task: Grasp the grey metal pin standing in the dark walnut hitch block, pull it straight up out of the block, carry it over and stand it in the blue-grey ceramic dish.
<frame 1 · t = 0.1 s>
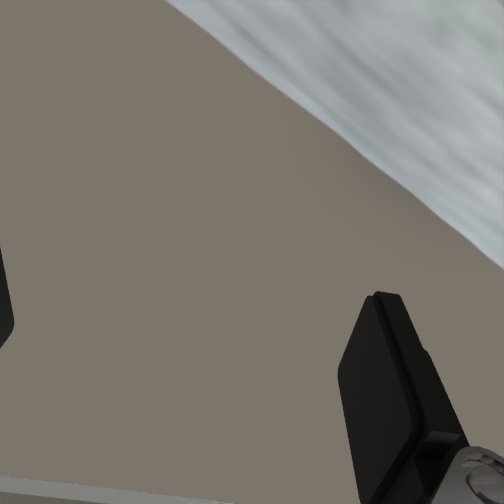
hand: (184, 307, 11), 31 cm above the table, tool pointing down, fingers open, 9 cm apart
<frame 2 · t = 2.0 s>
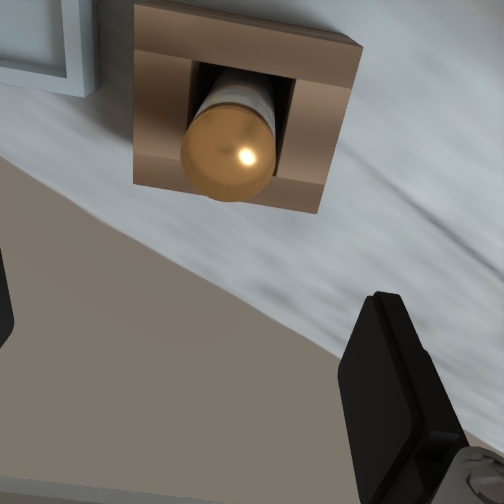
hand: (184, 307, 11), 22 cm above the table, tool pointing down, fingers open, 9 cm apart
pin: (236, 122, 24), in the hitch block
hitch block: (242, 98, 29), on the table
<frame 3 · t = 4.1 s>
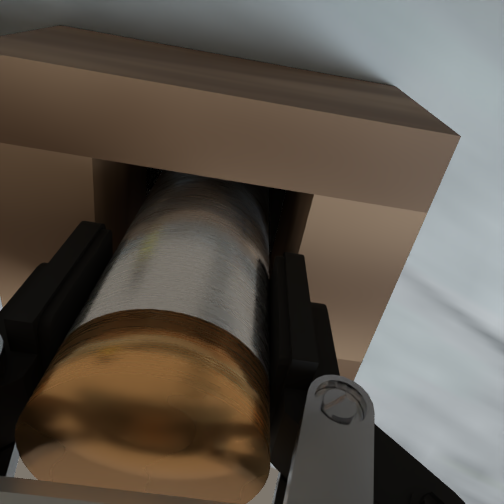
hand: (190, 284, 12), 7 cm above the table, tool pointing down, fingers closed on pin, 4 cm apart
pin: (195, 267, 12), in the hitch block, touching gripper
hitch block: (216, 185, 17), on the table
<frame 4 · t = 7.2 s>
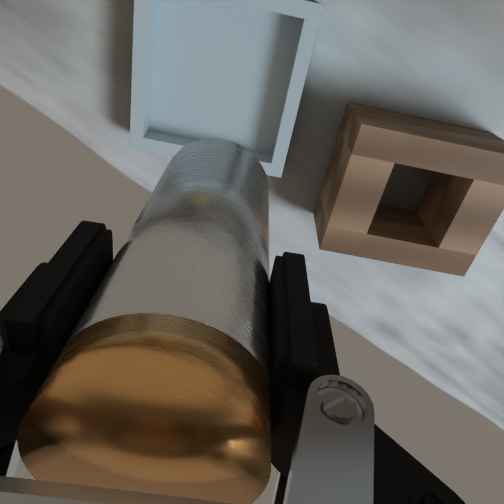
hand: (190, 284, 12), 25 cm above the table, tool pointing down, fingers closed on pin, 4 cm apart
tray: (221, 75, 32), on the table
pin: (195, 271, 12), point 24 cm above the table, touching gripper
hitch block: (397, 176, 35), on the table
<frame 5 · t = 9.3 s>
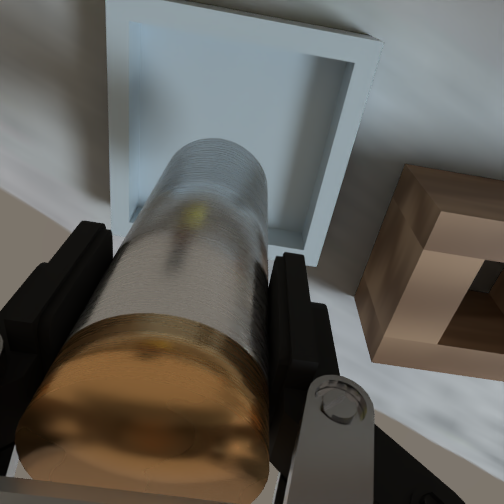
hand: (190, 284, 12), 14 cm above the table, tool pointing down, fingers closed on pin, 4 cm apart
tray: (233, 134, 23), on the table
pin: (194, 270, 12), point 13 cm above the table, touching gripper
hitch block: (466, 252, 27), on the table
when the fingers open (9 cm above the table, at t = 10.7 s): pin stays where it is, resting on tray.
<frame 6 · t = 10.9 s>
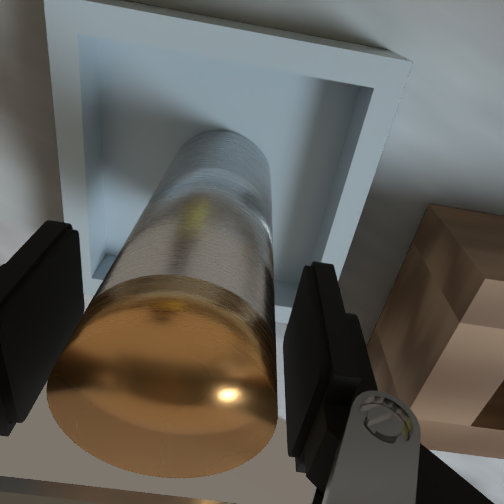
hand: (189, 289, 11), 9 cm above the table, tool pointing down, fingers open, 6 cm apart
tray: (219, 169, 19), on the table
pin: (203, 251, 13), in the tray, point 7 cm above the table
hitch block: (498, 302, 23), on the table
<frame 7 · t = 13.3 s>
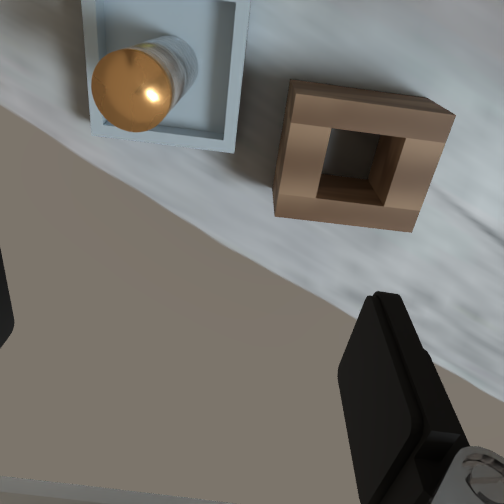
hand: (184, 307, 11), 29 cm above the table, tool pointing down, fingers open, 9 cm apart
tray: (171, 62, 34), on the table
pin: (154, 77, 28), in the tray, point 7 cm above the table
hitch block: (345, 145, 38), on the table
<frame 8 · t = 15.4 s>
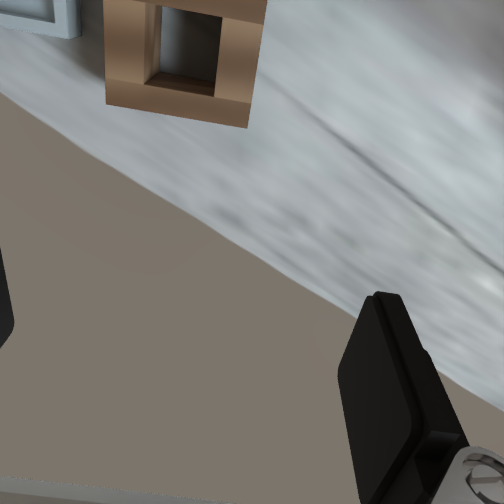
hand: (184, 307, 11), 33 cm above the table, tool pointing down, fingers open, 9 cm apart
hitch block: (193, 43, 38), on the table
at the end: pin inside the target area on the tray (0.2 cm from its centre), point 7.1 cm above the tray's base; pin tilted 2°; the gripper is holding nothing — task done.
